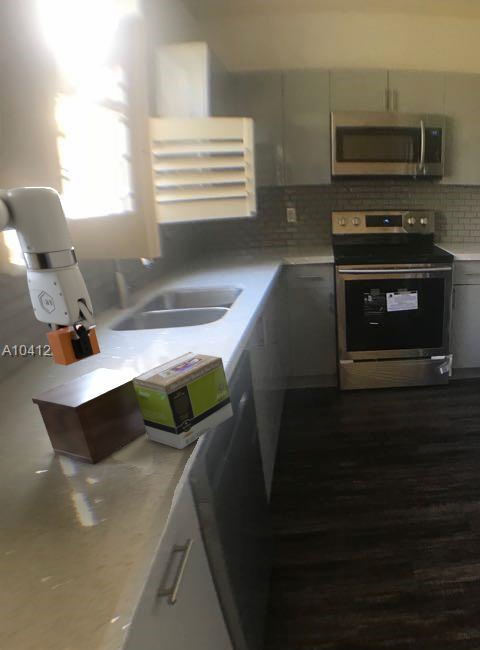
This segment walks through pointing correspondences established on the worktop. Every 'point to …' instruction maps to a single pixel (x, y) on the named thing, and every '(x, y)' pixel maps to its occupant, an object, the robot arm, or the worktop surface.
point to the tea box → (183, 398)
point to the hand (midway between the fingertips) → (77, 354)
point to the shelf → (92, 415)
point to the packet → (68, 345)
